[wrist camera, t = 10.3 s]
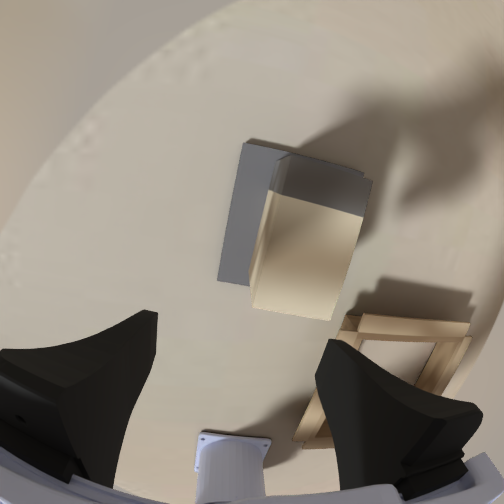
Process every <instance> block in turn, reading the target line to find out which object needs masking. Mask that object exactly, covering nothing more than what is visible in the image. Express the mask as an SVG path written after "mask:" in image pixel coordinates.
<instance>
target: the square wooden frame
mask: <svg viewBox="0 0 504 504" xmlns="http://www.w3.org/2000/svg"><path fill="white" fill-rule="evenodd" d="M470 324H471V323H469V322H458V321H444V320H431V319H420V318H409V317H398V316H388V315H379V314H370V313H363V315H362V316H354V315H345V317H344V320H343V323H342V326H341V329H339V332H338V335H337V337H336V339H337V340H343V341H344V342H346V343H348V344H349V345H351V346H352V347H353V348H355V349H356V350H358V348H359V346H360V344H361V341H362V339H365V340H381V341H403V342H437V344H436V346H435V348H434V350H433V352H432V354H431V356H430V358H429V360H428V362H427V364H426V366H425V368H424V370H423V371H422V373H421V375H420V377H419V379H418V381H417V382H416V384H415V387H417V388H419V389H422V390H424V391H427V392H429V393H432V394H435V395H438V396H441V395H442V393H443V391H444V390H445V388H446V387H447V385H448V383H449V381H450V380H451V378H452V376H453V375H454V373H455V371H456V369H457V367H458V365H459V364H460V362H461V360H462V358H463V356H464V354H465V352H466V350H467V348H468V346H469V344H470V342H471V340H472V338H473V337H472V336H465V335H466V333H467V331H468V329H469V327H470ZM292 441H305V442H304V444H303V446H302V449H326V448H335V447H334V442H333V438H332V434H331V431H330V428H329V425H328V422H327V419H326V416H325V413H324V411H323V408H322V405H321V402H320V399H319V396H318V391H317V387H316V389H315V392H314V394H313V396H312V398H311V401H310V403H309V405H308V407H307V409H306V411H305V414H304V416H303V418H302V420H301V422H300V424H299V426H298V428H297V430H296V432H295V434H294V436H293V438H292Z"/></svg>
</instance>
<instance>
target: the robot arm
mask: <svg viewBox="0 0 504 504" xmlns="http://www.w3.org/2000/svg"><path fill="white" fill-rule="evenodd" d="M157 321H158V313H157V312H153V311H148V310H142V311H140V312H138V313H136V314H135V315H133V316H131V317H129V318H128V319H126V320H124V321H122V322H120V323H118V324H116V325H115V326H113V327H110V328H108V329H106V330H104V331H102V332H100V333H98V334H95V335H93V336H90V337H87V338H84V339H81V340H78V341H75V342H71V343H67V344H62V345H58V346H53V347H45V348H36V349H2V350H1V351H0V504H168V503H163V502H158V501H154V500H150V499H146V498H142V497H138V496H134V495H131V494H127V493H123V492H120V491H117V490H114V489H113V484H114V478H115V473H116V468H117V463H118V459H119V454H120V450H121V446H122V443H123V439H124V435H125V432H126V428H127V425H128V421H129V418H130V415H131V413H132V410H133V408H134V406H135V404H136V401H137V399H138V397H139V395H140V393H141V391H142V389H143V386H144V384H145V382H146V380H147V378H148V376H149V373H150V371H151V368H152V365H153V361H154V358H155V355H156V340H157ZM315 380H316V386H317V391H318V396H319V399H320V402H321V405H322V408H323V411H324V413H325V416H326V419H327V422H328V425H329V428H330V431H331V434H332V438H333V442H334V447H335V452H336V457H337V464H338V471H339V481H340V491H334V492H326V493H316V494H303V495H278V496H266V494H265V484H264V474H263V464H262V462H263V460H264V458H265V456H266V454H267V451H268V449H269V447H270V445H271V439H268V438H253V437H241V436H231V435H222V434H215V433H208V432H200V433H199V438H198V445H197V453H196V460H195V467H194V471H195V472H197V473H198V479H197V490H196V501H195V504H490V503H492V502H493V501H494V500H495V499H497V498H498V497H499V496H500V495H501V494H502V493H503V492H504V478H503V477H502V475H501V474H500V473H499V471H498V470H497V468H496V467H495V465H494V464H493V463H492V461H491V460H490V458H489V457H488V456H487V454H486V453H485V452H483V453H481V454H479V455H477V456H475V457H472V458H470V459H469V460H467V461H466V462H465V463H463V461H462V460H461V458H462V457H464V452H463V451H462V448H463V447H464V445H465V444H466V443H467V442H468V441H469V440H470V438H471V437H472V436H473V434H474V433H475V432H476V431H477V429H478V428H479V426H480V424H481V422H482V418H483V413H482V411H481V410H480V409H479V408H478V407H477V406H476V405H475V404H474V403H471V402H464V401H458V400H453V399H449V398H445V397H442V396H438V395H435V394H432V393H429V392H427V391H424V390H422V389H419V388H417V387H415V386H413V385H410V384H408V383H407V382H405V381H403V380H401V379H399V378H397V377H395V376H394V375H392V374H390V373H389V372H387V371H386V370H384V369H383V368H381V367H380V366H378V365H377V364H375V363H374V362H373V361H371V360H370V359H368V358H367V357H366V356H364V355H363V354H362V353H360V352H359V351H358V350H356V349H355V348H353V347H352V346H351V345H349V344H348V343H346V342H344V341H343V340H337V339H329V340H328V343H327V345H326V348H325V351H324V353H323V356H322V358H321V361H320V364H319V366H318V369H317V371H316V374H315Z"/></svg>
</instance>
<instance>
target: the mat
mask: <svg viewBox="0 0 504 504" xmlns="http://www.w3.org/2000/svg"><path fill="white" fill-rule="evenodd" d="M290 155H292V156H296V157H300V158H303V159H307V160H310V161H313V162H317V163H320V164H323V165H327V166H330V167H333V168H336V169H339V170H342V171H345V172H348V173H351V174H354V175H357V176H360V177H363V176H364V173H363V172H360V171H357V170H354V169H350V168H347V167H343V166H340V165H337V164H333V163H329V162H326V161H322V160H318V159H314V158H311V157H307V156H303V155H299V154H294V153H290V152H286V151H282V150H277V149H273V148H268V147H263V146H258V145H253V144H248V143H243V146H242V151H241V155H240V160H239V165H238V170H237V175H236V180H235V185H234V190H233V195H232V201H231V206H230V211H229V216H228V222H227V227H226V232H225V238H224V243H223V249H222V255H221V260H220V266H219V272H218V278H217V281H222V282H228V283H233V284H239V285H245V286H250V281H249V272H248V271H249V267H250V263H251V259H252V255H253V251H254V247H255V242H256V238H257V234H258V230H259V226H260V222H261V218H262V214H263V210H264V206H265V202H266V198H267V194H268V190H269V185H270V181H271V177H272V173H273V169H274V165H275V162H276V161H278V160H281V159H283V158H285V157H288V156H290Z"/></svg>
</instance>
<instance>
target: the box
mask: <svg viewBox="0 0 504 504" xmlns="http://www.w3.org/2000/svg"><path fill="white" fill-rule="evenodd" d="M372 182H373V181H371V180H369V179H366V178H363V177H360V176H357V175H354V174H351V173H348V172H345V171H342V170H339V169H336V168H333V167H330V166H327V165H323V164H320V163H317V162H313V161H310V160H307V159H303V158H300V157H296V156H292V155H290V156H288V157H285V158H283V159H281V160H278V161H276V162H275V165H274V169H273V173H272V177H271V181H270V185H269V190H268V194H267V198H266V202H265V206H264V210H263V214H262V218H261V222H260V226H259V230H258V234H257V238H256V242H255V247H254V251H253V255H252V259H251V263H250V267H249V271H248V272H249V281H250V291H251V300H252V308H258V309H263V310H268V311H274V312H279V313H285V314H291V315H297V316H303V317H309V318H315V319H321V320H328V321H330V319H331V317H332V314H333V311H334V308H335V306H336V303H337V300H338V297H339V294H340V292H341V289H342V286H343V283H344V280H345V277H346V274H347V271H348V268H349V265H350V262H351V258H352V255H353V252H354V249H355V245H356V242H357V239H358V235H359V232H360V228H361V225H362V221H363V217H364V214H365V210H366V206H367V202H368V199H369V195H370V191H371V186H372Z"/></svg>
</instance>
